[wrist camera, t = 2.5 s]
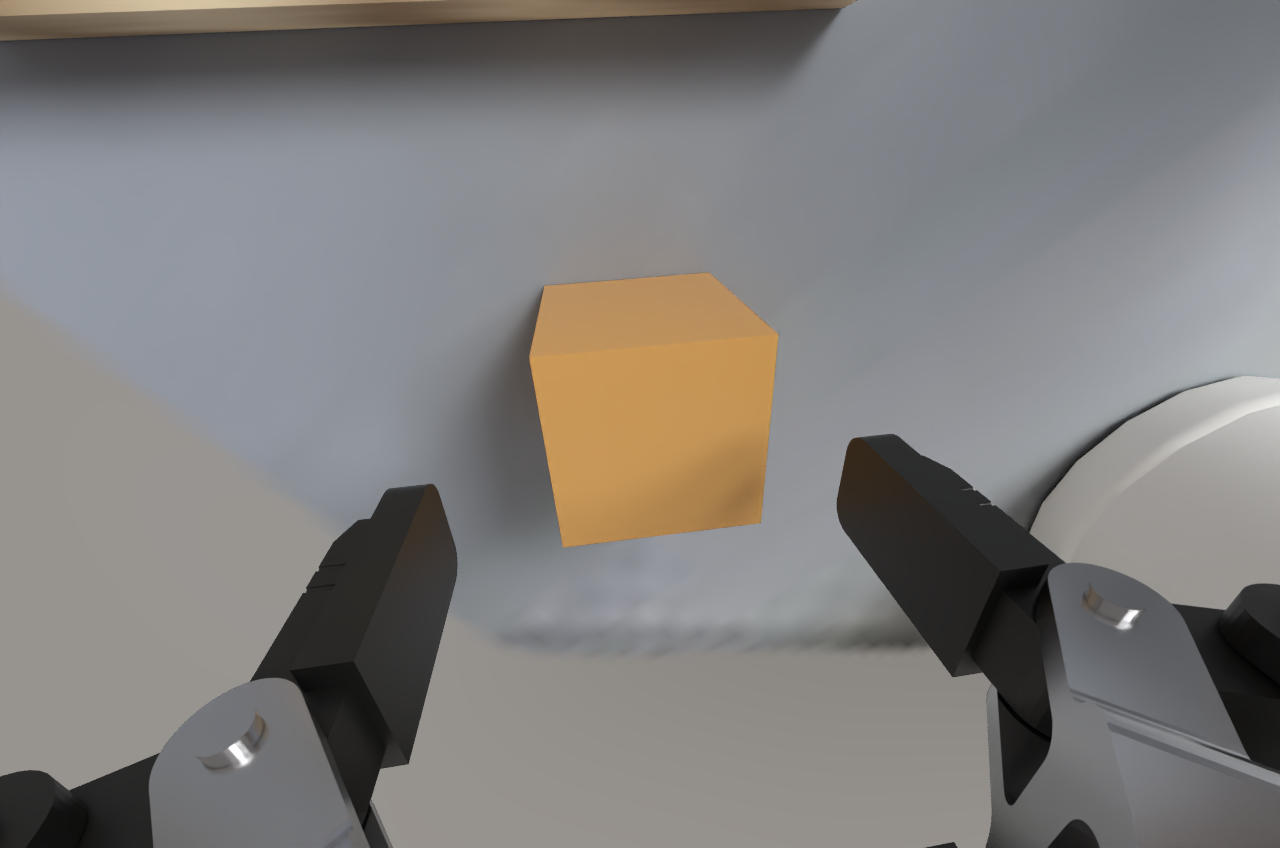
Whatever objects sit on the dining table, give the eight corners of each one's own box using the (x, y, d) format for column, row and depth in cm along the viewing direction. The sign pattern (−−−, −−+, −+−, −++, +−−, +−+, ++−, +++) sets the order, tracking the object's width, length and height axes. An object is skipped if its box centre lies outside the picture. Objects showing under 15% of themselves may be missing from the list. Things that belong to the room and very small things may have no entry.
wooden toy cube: (708, 272, 15) (778, 334, 10) (706, 415, 18) (760, 523, 13) (544, 286, 15) (529, 357, 10) (566, 430, 18) (562, 547, 12)
